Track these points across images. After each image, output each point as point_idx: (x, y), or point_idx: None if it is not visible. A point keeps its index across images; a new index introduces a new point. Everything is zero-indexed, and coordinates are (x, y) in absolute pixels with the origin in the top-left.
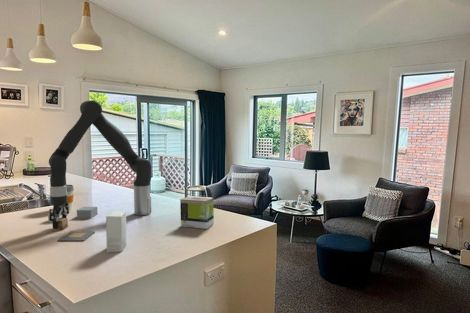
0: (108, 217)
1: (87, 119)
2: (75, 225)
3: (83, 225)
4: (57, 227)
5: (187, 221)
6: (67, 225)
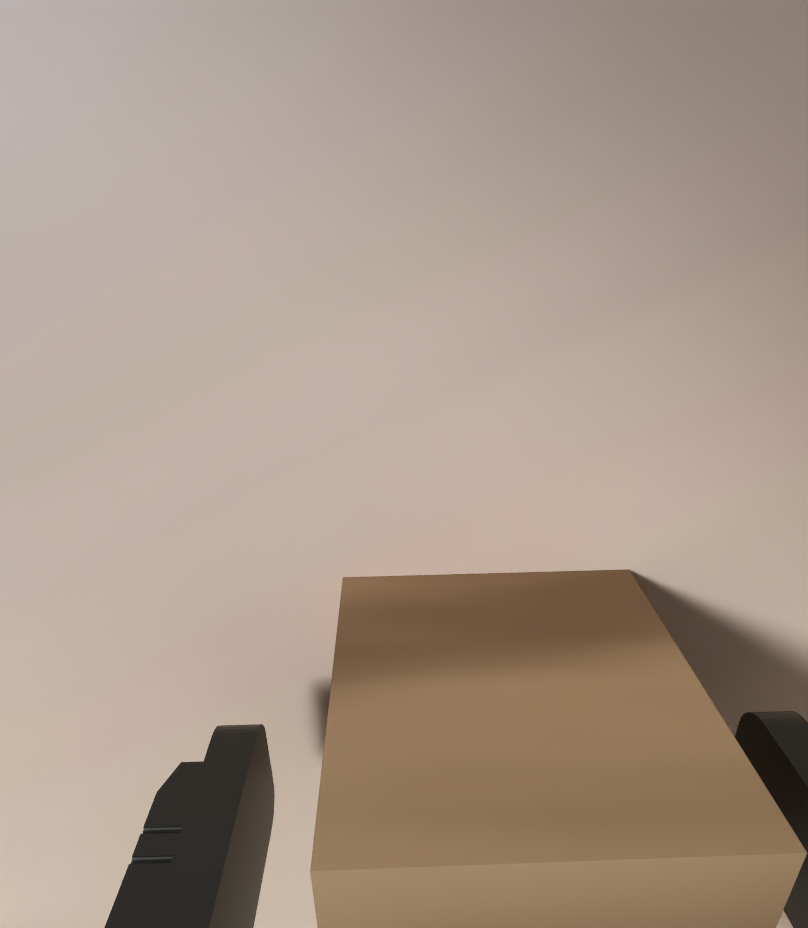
0: None
1: None
2: (149, 449)
3: (88, 144)
4: (805, 728)
5: None
6: (359, 616)
